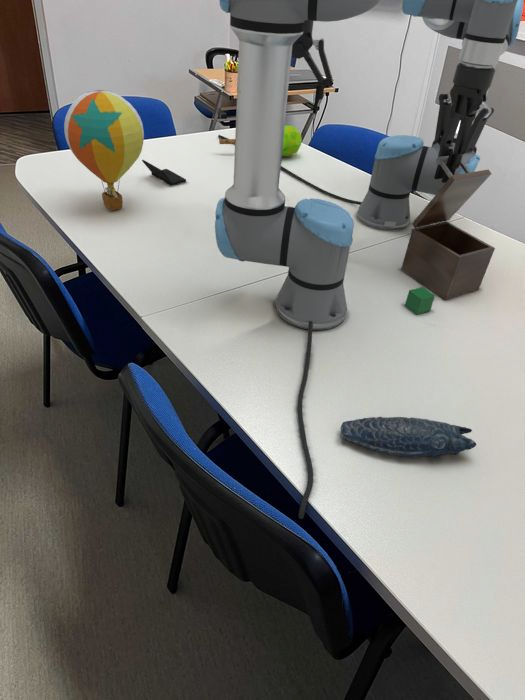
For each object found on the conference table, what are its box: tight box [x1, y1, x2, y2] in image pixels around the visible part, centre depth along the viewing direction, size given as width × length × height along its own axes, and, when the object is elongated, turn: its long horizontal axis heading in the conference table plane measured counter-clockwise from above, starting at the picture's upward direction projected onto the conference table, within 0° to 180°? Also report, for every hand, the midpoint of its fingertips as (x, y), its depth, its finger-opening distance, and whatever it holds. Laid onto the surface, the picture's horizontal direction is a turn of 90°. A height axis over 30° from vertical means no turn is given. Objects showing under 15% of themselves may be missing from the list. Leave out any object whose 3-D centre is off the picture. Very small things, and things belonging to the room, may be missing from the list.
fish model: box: [340, 416, 477, 458], centre depth 82 cm, size 7×21×5 cm, turn 84°
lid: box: [411, 156, 493, 229], centre depth 120 cm, size 16×12×8 cm
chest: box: [400, 221, 496, 301], centre depth 124 cm, size 15×12×11 cm
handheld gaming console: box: [141, 159, 187, 187], centre depth 162 cm, size 12×7×10 cm
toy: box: [63, 89, 145, 212], centre depth 136 cm, size 20×20×30 cm
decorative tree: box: [218, 125, 303, 157], centre depth 186 cm, size 18×10×30 cm
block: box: [404, 286, 436, 316], centre depth 116 cm, size 4×4×4 cm
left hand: (288, 109), depth 135 cm, fingers open, 13 cm apart
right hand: (443, 179), depth 119 cm, fingers closed on lid, 2 cm apart
